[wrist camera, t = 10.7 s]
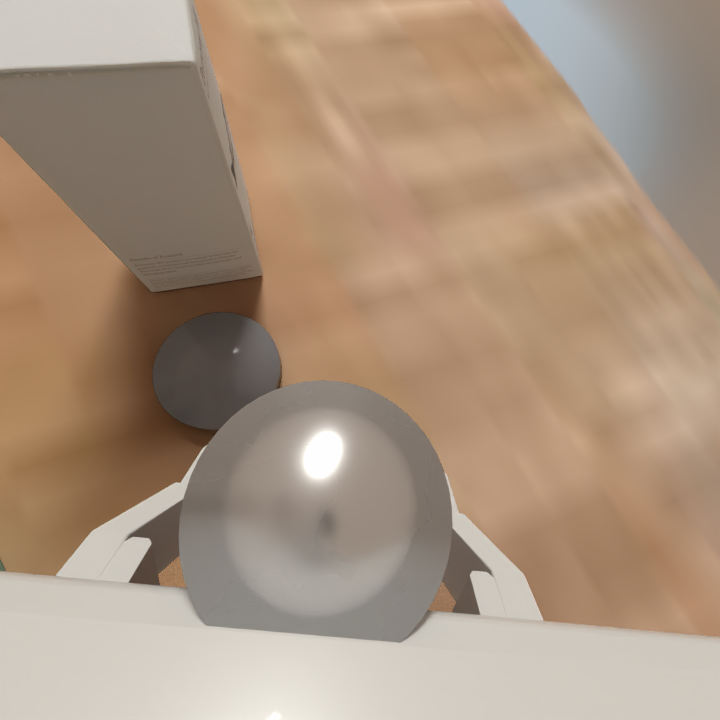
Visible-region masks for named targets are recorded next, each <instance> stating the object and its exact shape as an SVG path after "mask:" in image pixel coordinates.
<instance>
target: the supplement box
mask: <svg viewBox="0 0 720 720" xmlns="http://www.w3.org/2000/svg"><path fill="white" fill-rule="evenodd" d="M0 136H1V137H2V138H3V139H4V140H5V141H6V142H7V143H8V144H9V145H10V146H11V147H12V148H13V149H14V150H15V151H16V152H17V153H18V154H19V155H20V157H21V158H22V159H23V160H24V161H25V162H26V163H27V164H28V165H29V166H30V167H31V168H32V169H33V170H34V171H35V172H36V173H37V174H38V175H39V176H40V177H41V178H42V179H43V180H44V181H45V182H46V183H47V184H48V186H49V187H50V188H51V189H52V190H53V191H54V192H55V193H56V194H57V195H58V196H59V197H60V198H61V199H62V200H63V201H64V202H65V203H66V204H67V205H68V206H69V207H70V208H71V209H72V210H73V211H74V212H75V213H76V215H77V216H78V217H79V218H80V219H81V220H82V221H83V222H84V223H85V224H86V225H87V226H88V227H89V228H90V229H91V230H92V231H93V232H94V233H95V234H96V235H97V236H98V237H99V238H100V239H101V240H102V241H103V242H104V244H105V245H106V246H107V247H108V248H109V249H110V250H111V251H112V252H113V253H114V254H115V255H116V256H117V257H118V258H119V259H120V260H121V261H122V262H123V263H124V264H125V265H126V266H127V267H128V268H129V270H130V271H131V272H132V273H133V274H134V275H135V276H136V277H137V278H138V279H139V280H140V281H141V282H142V283H143V284H144V285H145V286H146V287H147V288H148V289H149V290H150V292H159V291H165V290H173V289H180V288H186V287H193V286H200V285H206V284H213V283H220V282H226V281H233V280H239V279H246V278H252V277H257V276H261V275H262V268H261V264H260V260H259V255H258V251H257V245H256V240H255V235H254V229H253V223H252V218H251V212H250V205H249V197H248V192H247V188H246V185H245V181H244V177H243V174H242V170H241V166H240V163H239V159H238V155H237V152H236V148H235V144H234V141H233V137H232V133H231V130H230V126H229V123H228V119H227V115H226V112H225V108H224V104H223V101H222V97H221V94H220V90H219V87H218V83H217V80H216V76H215V73H214V70H213V66H212V63H211V59H210V56H209V52H208V49H207V45H206V42H205V38H204V35H203V31H202V28H201V24H200V20H199V17H198V13H197V10H196V6H195V3H194V0H0Z"/></svg>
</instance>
